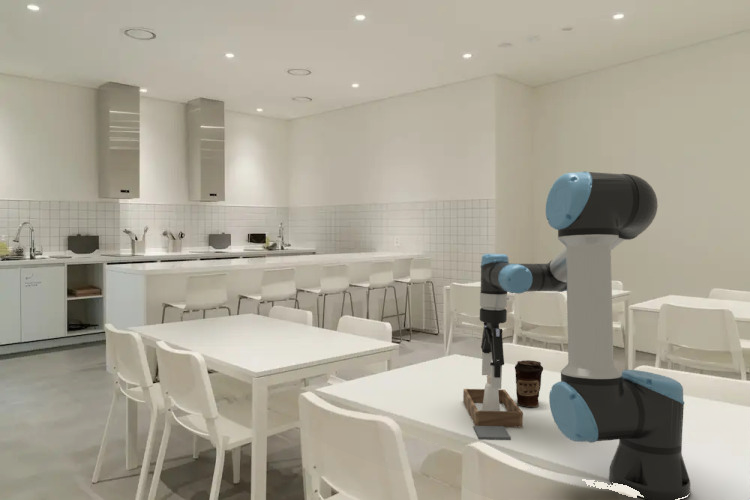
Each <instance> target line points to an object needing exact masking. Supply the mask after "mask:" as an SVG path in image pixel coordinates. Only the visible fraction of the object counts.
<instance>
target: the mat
mask: <svg viewBox="0 0 750 500" xmlns="http://www.w3.org/2000/svg"><path fill="white" fill-rule="evenodd" d="M472 428H473V430H474V432H475V434H476V437H477V438H478V440H500V441H501V440H502V441H503V440H505V441H510V440H511V439H512V438H511V435H510V434H509V433H508V431H507V430H506V427H504V426H475V425H473V426H472Z"/></svg>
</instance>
